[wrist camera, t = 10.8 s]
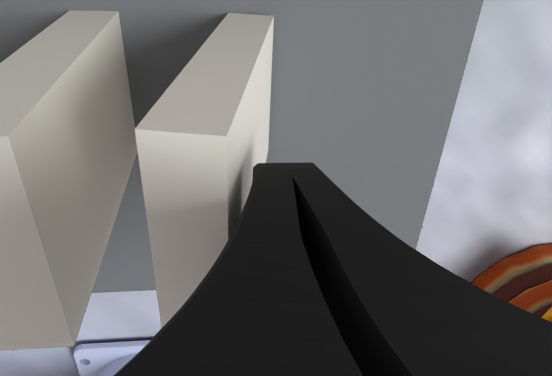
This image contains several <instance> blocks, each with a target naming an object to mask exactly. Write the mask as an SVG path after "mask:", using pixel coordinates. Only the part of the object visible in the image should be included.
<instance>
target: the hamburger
mask: <svg viewBox="0 0 552 376" xmlns="http://www.w3.org/2000/svg"><path fill="white" fill-rule="evenodd" d="M472 284H473V285H475V286H477V287H479V288H481V289H483V290H484V291H486V292H488V293H490V294H492V295H494V296H496V297H498V298H500V299H502V300H504V301H506V302H509V303H511V304H513V305H515V306H517V307H519V308H521V309H524V310H526V311H528V312H530V313H532V314H535V315H537V316H539V317H541V318H543V319H546V320H548V321H550V322H552V244H544V245H536V246H534V247H531V248H529V249H526V250H524V251H521V252H519V253H516V254H514V255H511V256H508V257H506V258H503V259H502V260H500V261H499V262H497V263H496V264H495V265H493V266H492V267H491V268H489V269H488V270H486V271H485V272H484V273H482V274H481V275H479V276H478V277H477V278H476V279H475V280H474V281H473V283H472Z"/></svg>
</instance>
